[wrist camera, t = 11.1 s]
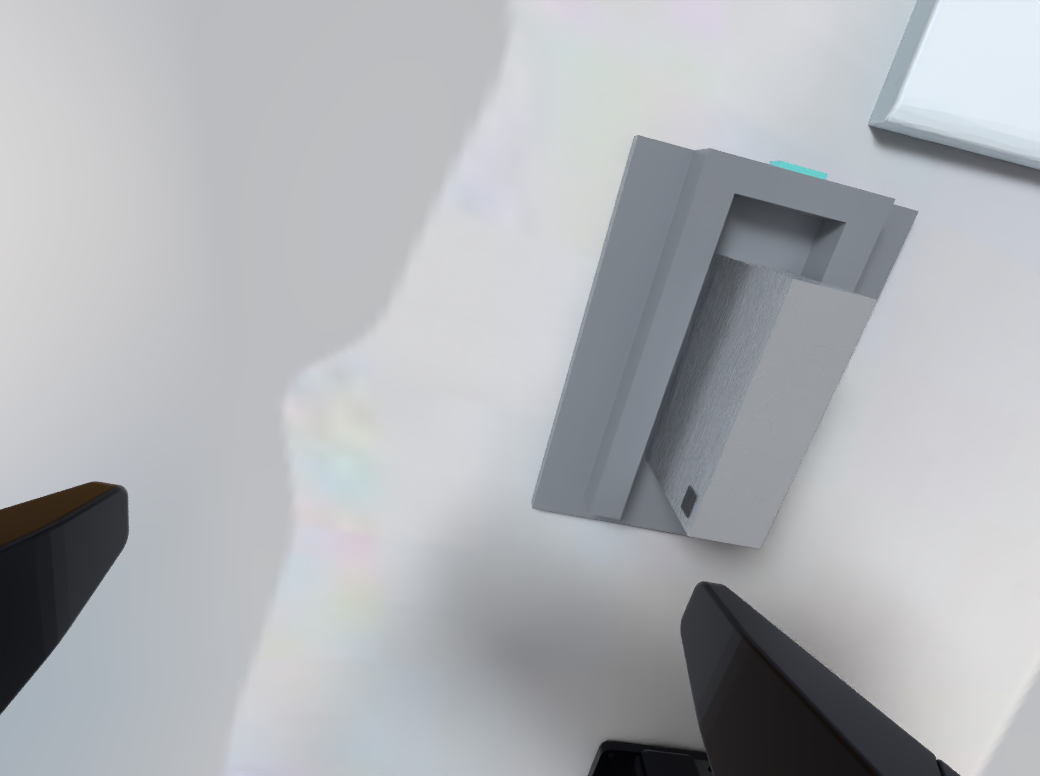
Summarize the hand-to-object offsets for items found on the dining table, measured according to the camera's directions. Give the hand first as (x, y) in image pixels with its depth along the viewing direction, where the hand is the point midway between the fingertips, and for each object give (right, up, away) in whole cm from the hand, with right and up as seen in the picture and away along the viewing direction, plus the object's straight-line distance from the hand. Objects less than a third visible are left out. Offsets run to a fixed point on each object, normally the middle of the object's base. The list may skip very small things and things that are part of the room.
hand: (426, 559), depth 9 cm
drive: (+8, +3, +11) cm, 15 cm away
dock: (+8, +3, +12) cm, 15 cm away
